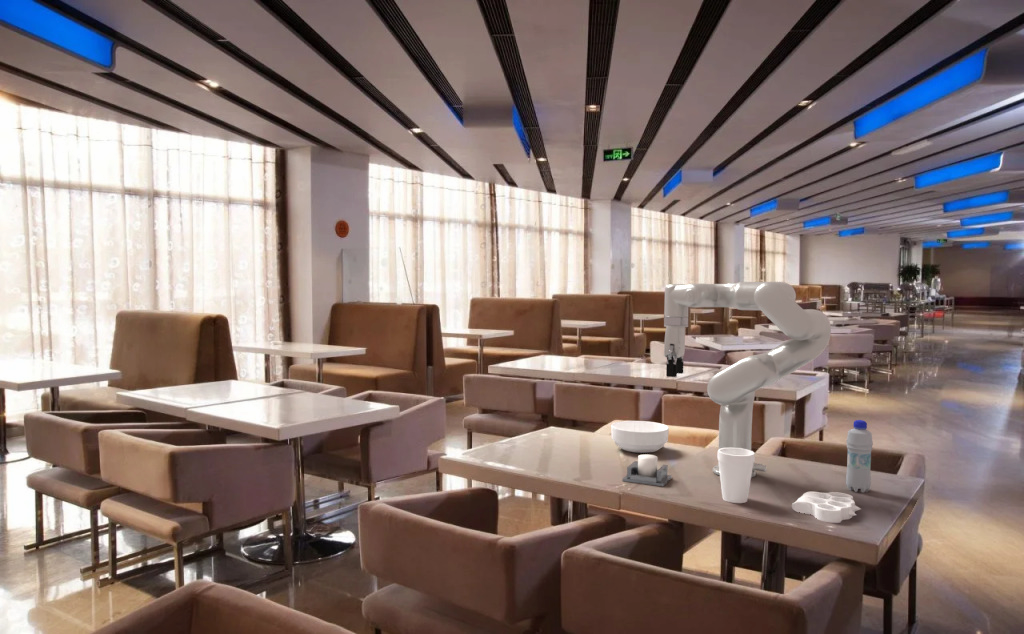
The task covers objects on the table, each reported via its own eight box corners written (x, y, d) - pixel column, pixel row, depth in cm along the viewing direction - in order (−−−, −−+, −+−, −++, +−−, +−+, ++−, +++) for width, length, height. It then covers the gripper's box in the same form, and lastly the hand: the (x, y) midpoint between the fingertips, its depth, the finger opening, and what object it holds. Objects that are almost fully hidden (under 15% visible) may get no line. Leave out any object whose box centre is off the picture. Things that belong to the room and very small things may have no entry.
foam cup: (731, 492, 195) (732, 446, 194) (760, 500, 187) (761, 452, 187) (709, 498, 189) (710, 450, 189) (738, 507, 182) (739, 457, 181)
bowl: (638, 441, 257) (638, 418, 257) (680, 452, 241) (680, 427, 241) (599, 448, 246) (599, 424, 245) (640, 460, 230) (641, 434, 229)
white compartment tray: (806, 498, 191) (865, 509, 182) (788, 515, 177) (851, 528, 168) (807, 486, 191) (866, 496, 182) (788, 502, 176) (852, 514, 168)
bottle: (848, 485, 203) (850, 416, 202) (873, 489, 198) (876, 419, 197) (842, 490, 197) (844, 420, 196) (868, 495, 193) (870, 423, 192)
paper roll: (659, 475, 208) (659, 455, 208) (654, 480, 203) (654, 460, 203) (640, 473, 210) (641, 453, 210) (635, 477, 205) (635, 457, 205)
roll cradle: (671, 477, 209) (671, 464, 208) (663, 486, 200) (663, 472, 199) (632, 472, 214) (632, 459, 214) (622, 481, 205) (622, 467, 205)
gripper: (670, 320, 236) (669, 371, 236) (657, 323, 220) (656, 377, 221) (693, 321, 232) (692, 372, 233) (682, 324, 217) (680, 379, 218)
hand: (674, 374), depth 227 cm, fingers open, 9 cm apart
